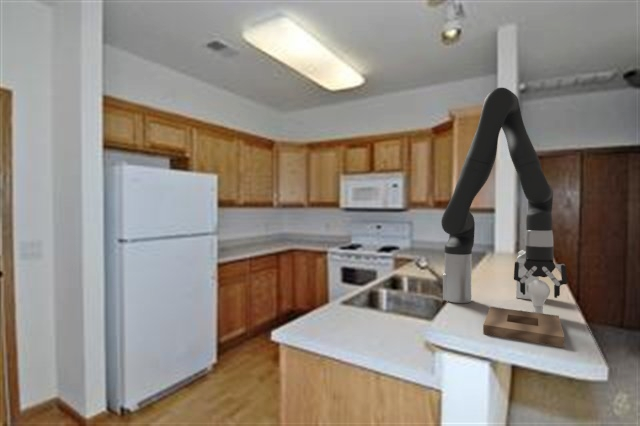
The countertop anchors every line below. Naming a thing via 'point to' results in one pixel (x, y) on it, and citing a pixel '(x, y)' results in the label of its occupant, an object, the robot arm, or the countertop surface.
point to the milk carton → (521, 273)
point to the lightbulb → (538, 294)
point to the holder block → (524, 326)
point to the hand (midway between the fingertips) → (539, 295)
